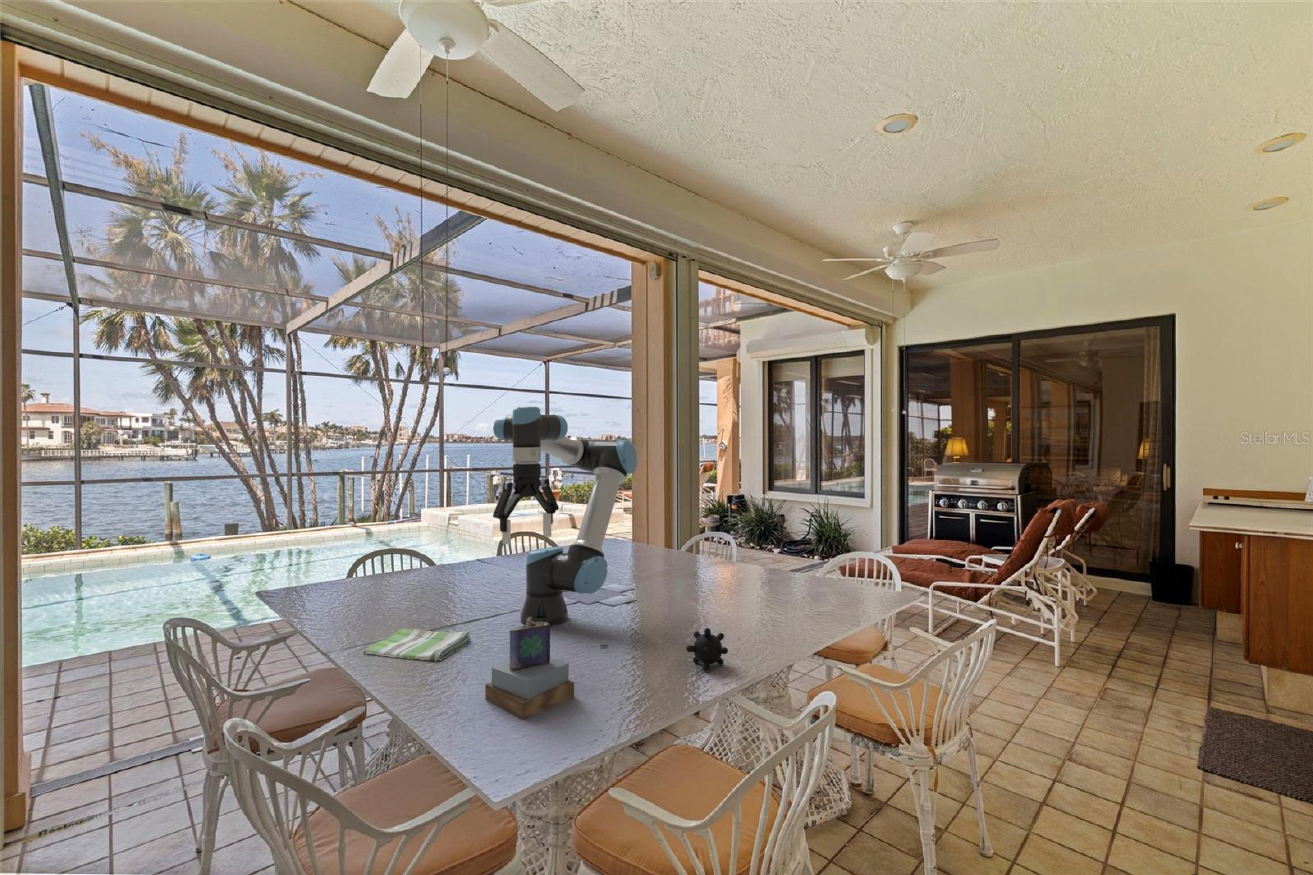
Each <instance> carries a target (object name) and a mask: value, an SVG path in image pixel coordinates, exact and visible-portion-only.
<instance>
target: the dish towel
mask: <svg viewBox="0 0 1313 875" xmlns="http://www.w3.org/2000/svg"><path fill="white" fill-rule="evenodd" d="M471 639H472V638H471V635H470V631H469V630H467V631H460V632H459V631H458V632H457V631H456V632H450V631H449V632H448V631H429V630H425V629H415V628H400V629H399V630H398V631H397V632H395V633H394V634H392V635H391V636H389V637H388V638H386V639H384V640H381V641H377V642H375V643H372V644H371V645H370V646H368V647H367V648H366V649H365V650H364V651H363V653H364V652H372V653H378V654H382V655H395V656H399V657H403V658H409V659H424V660H433V661H432V662H438V661H437V660H440V659H442V660H444V659H446V658H447V657H448V656H450V655H452V654H453V653H454V651H455V650H456V651H458V650H459V649H461V647H464V646H466V645H467V643H470V642H471ZM409 659H408V660H409Z"/></svg>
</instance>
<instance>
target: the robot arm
mask: <svg viewBox="0 0 1313 875" xmlns="http://www.w3.org/2000/svg"><path fill="white" fill-rule="evenodd" d="M568 429H569V425H568V422H567V420H566V419H565V417H563V416H561V415H557V414H541V409H540V407H538V406H516V407H514V408H513V410H512V415H511V414H510V415H509V414H507V415H501V416H498V417H497V418H496V419H495V420H494V422H493V428H492V430H493V434H494V436H495V438H496V439H497V440H499V441H505V442H508V441H510V442H511V441H512V462H513V465H512V476H513V482H511V481H504V482H503V484H502V491H501V493H500V497H499V498H498V501H497V504H496V506H495V509H494V511H493V514H492V517H493V518H495V519H498V520H499V531H500V533H501V532H502V537H501V540H502V541H501V542H502V544H504V545H511V544H512V540H511V539H512V538H511V537H512V536H511V532H512V531H511V530H512V529H511V527H512V526H511V522H512V521H511V519H509V518H510V516H511V515H512V513H513V511H514V510H515V508H516V506H517V505H518V504H519V502H520V500H522V499H523V498H528V497H531V498H533V497H534V498H535V500H536V501H537V502H538V504H539V506H541V508H542V510H544V511H545V512H543V513H542V534H543V537H547V538H551V537H552V525H553V523H554V514H556V513H557V511H559V509H560V507H559V504H558V502H557V500H556V497H555V494H554V493H553V490H552V488H551V484H550V479H549V478H541V476H542V466H541V465H542V464H541V463H540V462H541V459H542V458H541V457H542V455H541V454H542V453H545V454H548V455H550V456H553V457H556V458H557V459H560V460H561V461H562V462H563V463H564V464H566V465H569V466H572V467H574V468H577V469H580V470H583V471H586V472H590V473H593V475H594V476H595V478H594V482H593V485H592V489H591V492H590V495H589V498H588V501H587V505H586V508H585V512H584V514H583V518H582V521H581V524H580V528H579V530H578V534H577V537H576V540H575V542H573V543H571V544H569V547H568V550H567V553H566V552H564V548H563V547H562V546H549V547H548V546H547V547H542V548H537V549H533V550H531V551H529V552H528V553H527V556H526V563H525V568H526V575H525V576H526V577H525V578H526V580H525V582H526V584H525V585H526V586H525V587H526V594H525V600H524V602H523V606H522V609H521V612H520V623H521V624H523V625H526V622H527V619H528V617H531V618H532V619H531V620H532V621H533V622H539V623H540V622H541V621H542V622H543V623H544V622H547V623H549V624H550V627H551V626H558V625H560V624H562V623H565V622H566V621H567V620H568V619H569V612H568V608H567V605H566V602H565V598H564V593H563V592H564V591H566V592H570V593H571V592H572V593H577V594H580V595H582V594H583V595H584V594H589V595H590V594H594V593H596V592H597V591H599V590H600V589H601V588H602V587H603V585H604V584H605V581H606V579H607V576H608V563H607V559H606V558H605V553H604V551H603V549H602V548H603V546H604V545H603V544H604V542H605V538H606V537H605V536H606V535H607V531H608V527H609V525H610V524H609V523H610V520H611V516H612V514H613V510H614V506H615V502H616V499H617V496H618V492H619V488H620V485H621V484H623V483H624V482H625V483H626V480H627V476H628V475H631V474H634V472H635V471H636V469H637V467H638V457H637V451H636V448H635V446H634V444H633V443H632V442H631V441H629V440H626V439H620V438H619V439H579V438H577V437H567V436H566V435H567V434H568ZM541 452H542V453H541ZM540 478H541V479H540ZM540 488H541V489H542V490H541V489H540ZM526 618H527V619H526Z"/></svg>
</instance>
